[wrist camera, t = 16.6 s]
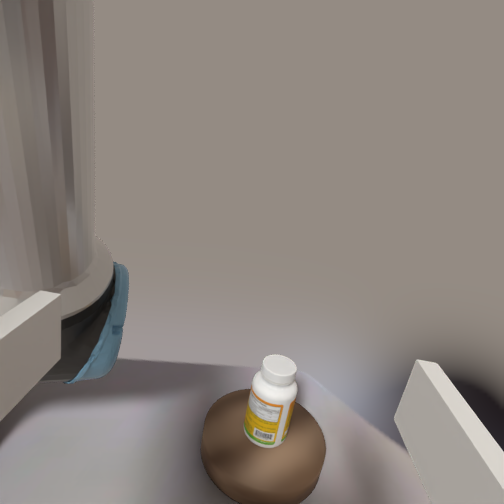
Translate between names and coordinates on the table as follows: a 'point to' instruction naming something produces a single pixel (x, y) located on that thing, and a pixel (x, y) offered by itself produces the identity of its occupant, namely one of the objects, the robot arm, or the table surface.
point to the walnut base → (261, 455)
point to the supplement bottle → (271, 402)
